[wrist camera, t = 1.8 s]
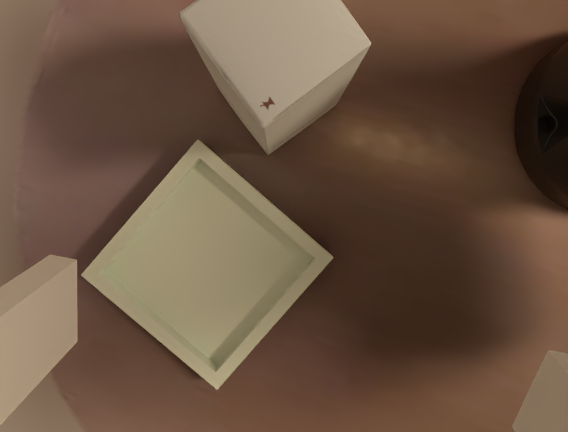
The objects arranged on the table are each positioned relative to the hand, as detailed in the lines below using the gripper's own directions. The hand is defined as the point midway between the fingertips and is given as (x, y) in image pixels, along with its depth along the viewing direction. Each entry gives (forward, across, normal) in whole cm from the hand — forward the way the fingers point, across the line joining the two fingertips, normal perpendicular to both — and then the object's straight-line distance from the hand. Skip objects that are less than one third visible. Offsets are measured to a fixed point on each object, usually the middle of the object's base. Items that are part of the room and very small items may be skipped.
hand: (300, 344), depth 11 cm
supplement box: (+25, -4, +5) cm, 26 cm away
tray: (+20, -7, -9) cm, 23 cm away
